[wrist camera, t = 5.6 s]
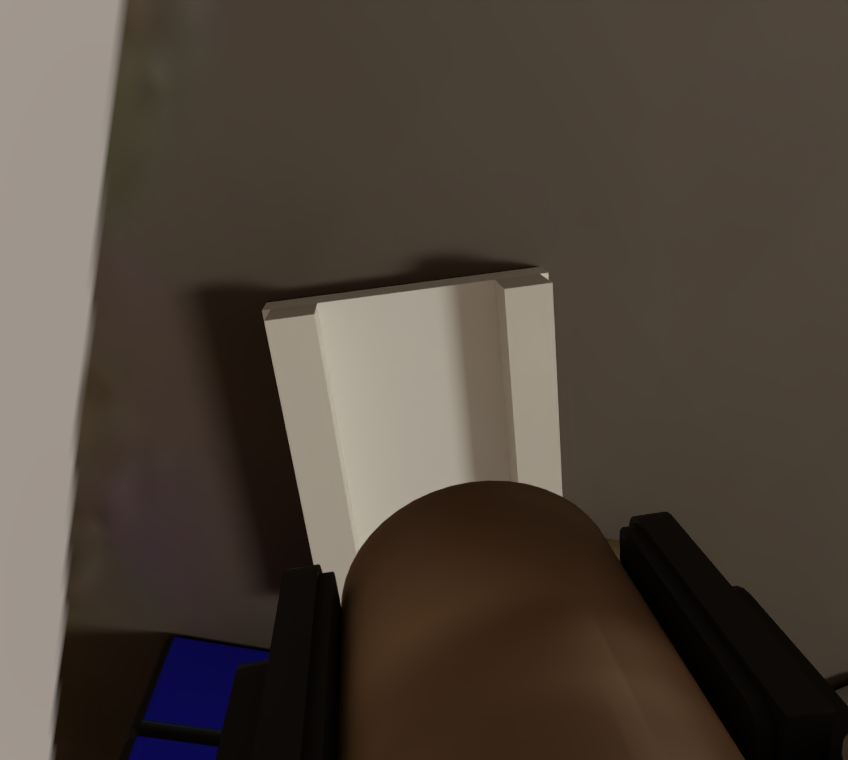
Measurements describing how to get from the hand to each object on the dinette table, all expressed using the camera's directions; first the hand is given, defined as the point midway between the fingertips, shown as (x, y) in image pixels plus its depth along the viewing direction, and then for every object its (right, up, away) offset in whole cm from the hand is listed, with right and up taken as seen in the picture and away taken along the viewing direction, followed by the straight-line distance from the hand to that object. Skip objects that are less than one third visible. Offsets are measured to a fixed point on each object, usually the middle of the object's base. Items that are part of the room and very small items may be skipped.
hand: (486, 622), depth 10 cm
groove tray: (-1, +1, +16) cm, 16 cm away
